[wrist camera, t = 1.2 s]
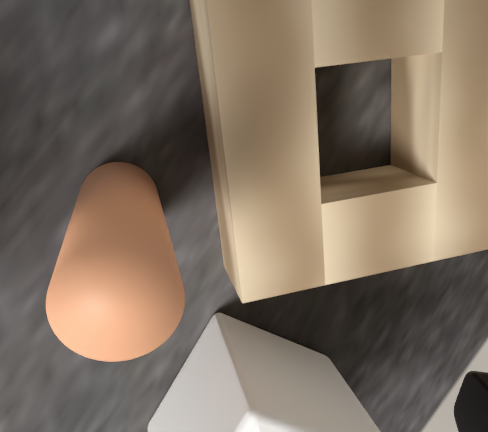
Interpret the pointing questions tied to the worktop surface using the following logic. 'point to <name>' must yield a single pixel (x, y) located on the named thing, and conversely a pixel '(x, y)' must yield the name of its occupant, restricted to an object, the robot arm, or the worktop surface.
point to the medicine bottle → (257, 387)
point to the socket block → (306, 138)
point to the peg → (116, 269)
